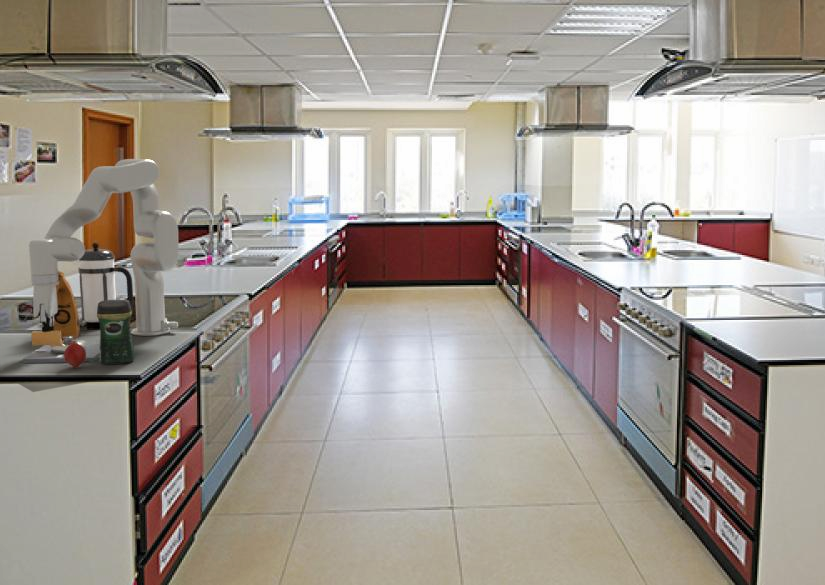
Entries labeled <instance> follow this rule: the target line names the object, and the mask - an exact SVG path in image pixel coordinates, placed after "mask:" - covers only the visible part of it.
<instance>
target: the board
mask: <svg viewBox="0 0 825 585" xmlns="http://www.w3.org/2000/svg"><path fill="white" fill-rule="evenodd" d="M85 351H86V358H85V360H84V362H85V361H94V360H95V361H96V360H98V359H99V358H100V357H99V356H100V342H98V343H86V350H85ZM95 361H94V362H95ZM84 362H83V363H84ZM34 363H35V364H38V363H39V364H40V363H41V364H46V363H47V364H48V363H67V362H66V360H65V358H64V354H61V353H52V352H51V346H50V345H41V347H39V348H37V349H35V350H34V351H33V352H32V353H30V354H28V355H27V356H25V357H24V358H22V364H34ZM85 363H86V362H85Z"/></svg>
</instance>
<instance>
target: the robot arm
mask: <svg viewBox="0 0 825 585" xmlns="http://www.w3.org/2000/svg"><path fill="white" fill-rule="evenodd" d="M160 175H161V170H160V167H159V165H158V164H157V163H156V162H155V161H153V160H151V159H147V158H145V159H144V158H143V159H141V158H140V159H139V158H128V159H127V158H125V159H121V160H119V161H118V162H116V164H115V165H114V166H112V165H108V166H107V165H106V166H98V167H95V168H93V170H92V171H91V172H90V174H89V175H88V177H87V179H86V181H85V183H84V184H83V187H82V188H81V190H80V192H79V194H78V196H77V197H76V199H75V201H74V202H73V204H71V206H69V207H68V208H67V209H66V210H64V212H62V214H61V215H59V217H57V218H56V219H55V220H54V222H53V223H52V224H51V226H50V227H49V229H48V231H47V233H46V234H45V237H44V238H38V239H37V238H35V239H31V240H30V241H29V243H28V249H29V250H28V251H29V252H28V253H29V265H30V281H31V282H30V283H31V286H33V292H32V294H33V296H32V297H33V298H32V301H33V302H32V303H33V305H32V306H33V317H34V318H35V319H37V318H39V317H40V323H41V331H55V330H54V315H55V314H56V313H57V311H58V303H57V292H56V285H57V284H59V280H58V271H59V269H58V268H59V267H58V266H59V264H58V262H69V263H70V262H76V261H77V260H79V259H80V258H81V257H82V256H83V255H84V253H85V250H86V248H85V245H84V243H83V242H82V241H81V240H80V239H78V238H75V237H72V236H73V235H74V234H75V233H76V232H77V231H78V230H79V229H80V228H81V227H83V226H86V225H88V224H90V223H91V222H94V221H95V220H97V219H98V218H100V217H101V215H102V213H103V212H104V209H105V207H106V206H107V204H108V201H109V200H110V198H111V196H112V194H124V193H128V192H130V194H131V198H132V205H133V206H132V207H133V211H132V212H133V215H132V216H133V228H134V233H135V234H136V235H137V236H138V237H140V238H143V239H153V242H152V241H151V242H150V241H142V242H138V243H136V244H135V245H134V246H133V247H132V249H131V251H130V257H129V258H130V263H131V269H132V271H133V279H134V294H135V295H134V296H135V298H134V299H135V302H134V303H135V320H136V321H135V322H136V327H135V328H133V329H132V330H131V334H132V335H135V336H142V337H143V336H144V337H145V336H147V337H148V336H151V337H153V336H161V335H165V334H168V333H170V332H171V328H173V329H174V328H178V327H179V322H178V321H169V320H168V317H166V314H165V312H166V310H165V308H166V307H165V306H166V305H165V289H164V288H165V287H164V278H163V275H162V272H171V271H172V270H174V269H175V267H177V264H178V261H179V254H180V252H179V251H180V250H179V246H180V245H179V225H178V222H177V219H176V218H175V216H174V215H173V214H172V213H170V212H168V211H165V210H160V208H161V207H160V198H159V193H158V190H157V187H156V185H155V183H156V182H158V181H159V178H160Z"/></svg>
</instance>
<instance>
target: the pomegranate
mask: <svg viewBox="0 0 825 585" xmlns="http://www.w3.org/2000/svg"><path fill="white" fill-rule="evenodd" d="M64 358H65V360H66V362H65V363H67V364H69V365H70V366H72V367H73V368H76V369H77V368H78V367H79V366H81V365H82V363H84V360H85V358H86V351H85V349H84V348H83V347H82V346H81V345H79V344H78V343H77V342H76V341H73V342H72V344H70V345H69V346H68V347H67V348H66V350H65V352H64Z"/></svg>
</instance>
